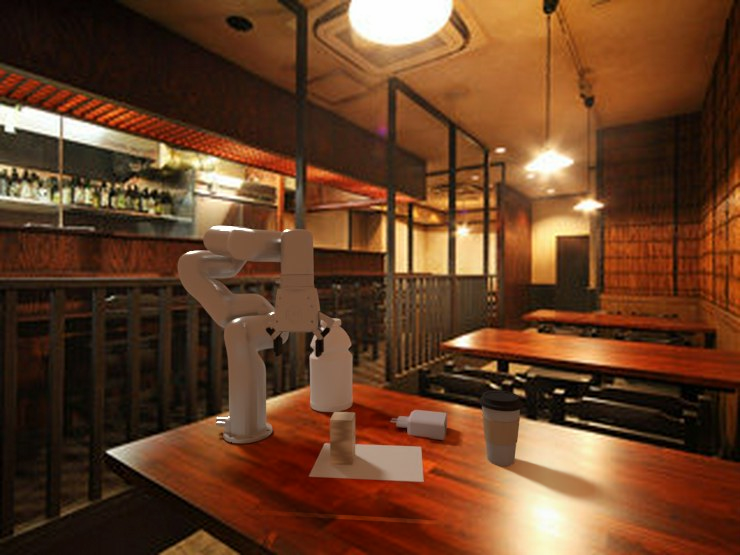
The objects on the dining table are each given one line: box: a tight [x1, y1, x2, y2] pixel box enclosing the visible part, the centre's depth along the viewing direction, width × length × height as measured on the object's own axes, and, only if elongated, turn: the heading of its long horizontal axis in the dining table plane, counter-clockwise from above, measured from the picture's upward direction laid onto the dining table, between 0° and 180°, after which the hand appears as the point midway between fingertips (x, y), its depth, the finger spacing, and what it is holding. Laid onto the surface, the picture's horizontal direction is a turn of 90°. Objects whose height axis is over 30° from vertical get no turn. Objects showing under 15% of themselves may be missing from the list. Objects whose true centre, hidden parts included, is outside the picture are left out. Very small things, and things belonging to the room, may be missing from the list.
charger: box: [389, 409, 448, 441], centre depth 107 cm, size 5×9×15 cm
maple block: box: [329, 411, 356, 465], centre depth 90 cm, size 5×5×10 cm
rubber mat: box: [308, 442, 425, 483], centre depth 90 cm, size 24×16×1 cm, turn 84°
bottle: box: [309, 317, 354, 413], centre depth 128 cm, size 14×14×28 cm
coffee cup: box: [478, 389, 523, 467], centre depth 91 cm, size 9×9×15 cm
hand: (298, 355), depth 92 cm, fingers open, 9 cm apart
